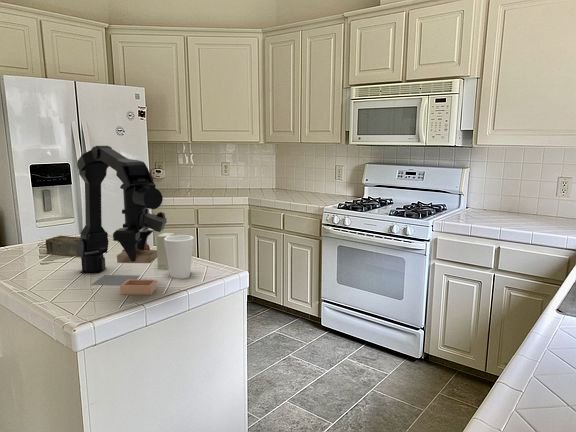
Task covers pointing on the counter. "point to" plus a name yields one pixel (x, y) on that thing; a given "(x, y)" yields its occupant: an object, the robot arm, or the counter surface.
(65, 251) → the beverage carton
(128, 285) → the dish
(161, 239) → the skincare box
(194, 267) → the counter surface
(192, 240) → the foam cup
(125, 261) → the lid
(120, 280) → the mat
